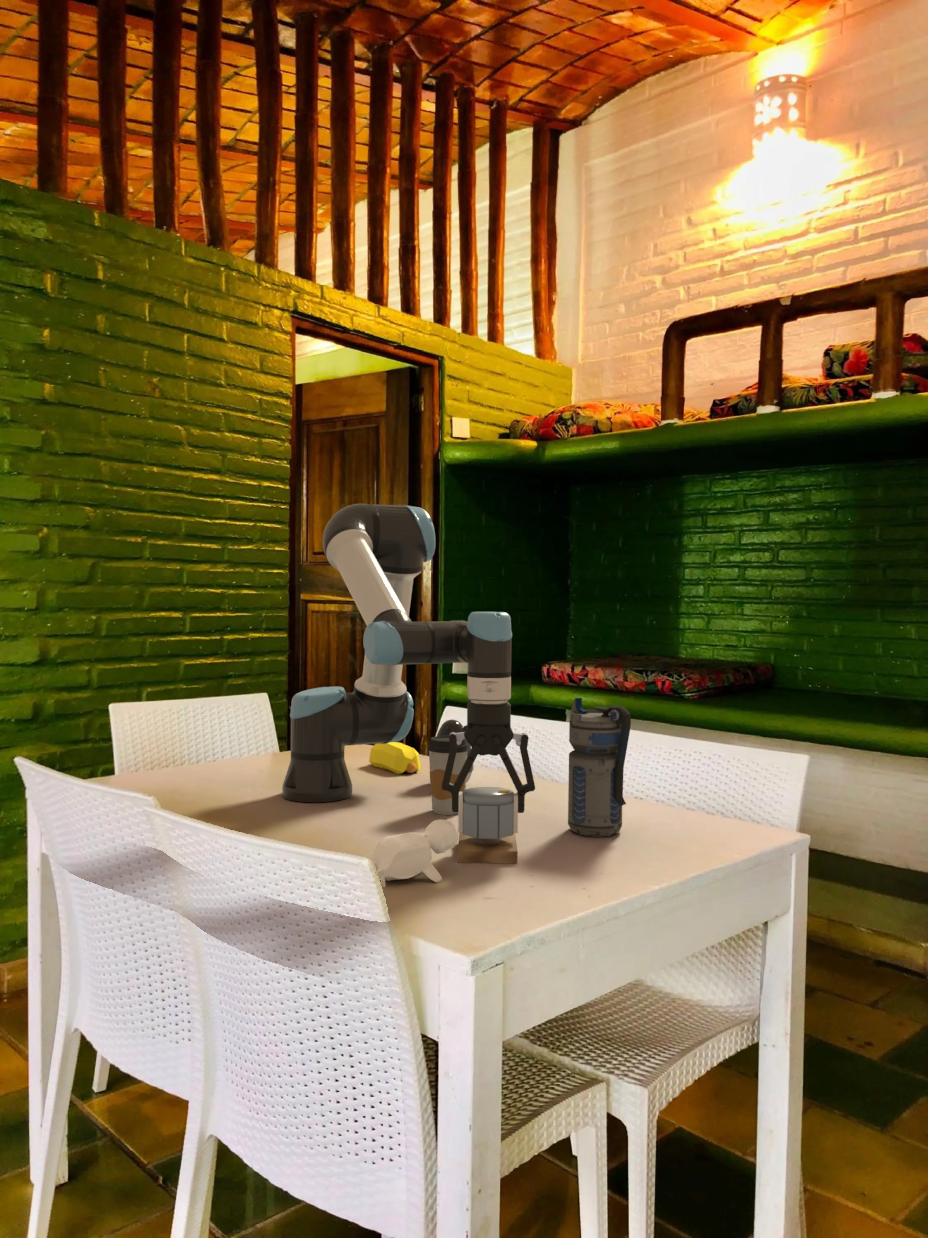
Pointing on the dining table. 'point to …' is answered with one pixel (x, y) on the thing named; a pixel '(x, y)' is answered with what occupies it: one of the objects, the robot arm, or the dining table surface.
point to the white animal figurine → (413, 852)
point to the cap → (488, 812)
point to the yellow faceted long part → (395, 757)
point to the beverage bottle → (597, 768)
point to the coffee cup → (438, 762)
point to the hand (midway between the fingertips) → (487, 830)
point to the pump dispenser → (457, 728)
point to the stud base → (487, 850)
